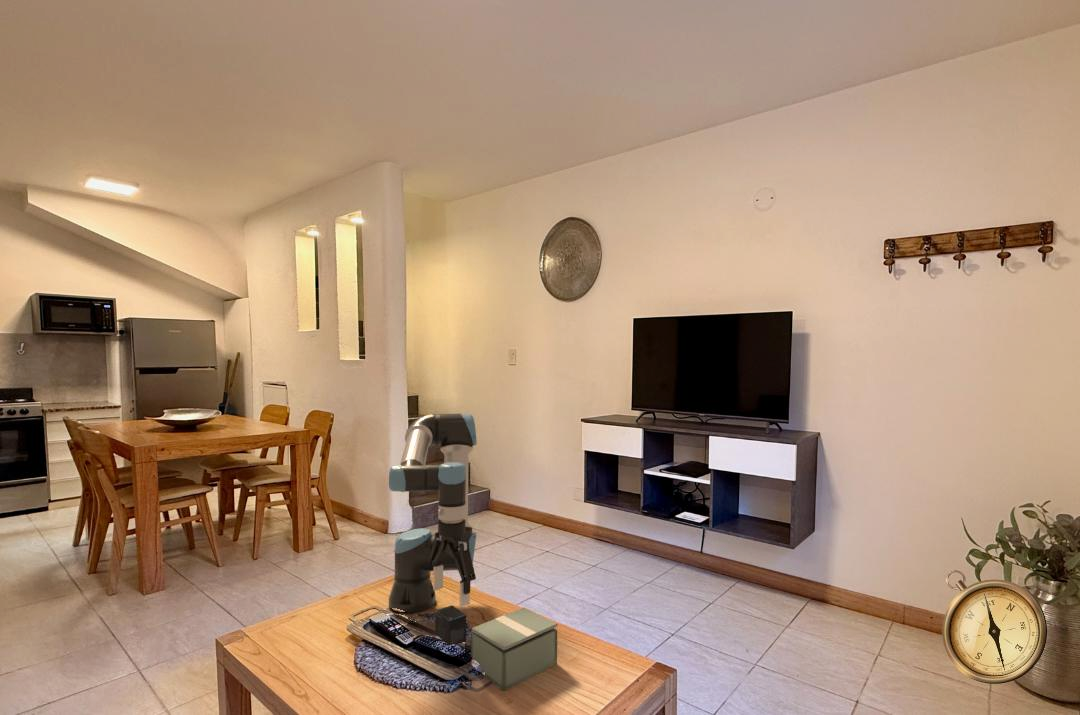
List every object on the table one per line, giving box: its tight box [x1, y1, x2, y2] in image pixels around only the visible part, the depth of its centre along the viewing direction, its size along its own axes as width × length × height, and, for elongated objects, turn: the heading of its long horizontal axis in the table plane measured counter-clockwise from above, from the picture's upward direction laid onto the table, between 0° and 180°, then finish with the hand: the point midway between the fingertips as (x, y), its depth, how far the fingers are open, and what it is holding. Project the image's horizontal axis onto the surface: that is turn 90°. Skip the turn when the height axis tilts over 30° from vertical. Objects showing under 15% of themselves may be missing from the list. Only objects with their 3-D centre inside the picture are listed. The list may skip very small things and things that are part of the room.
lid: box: [471, 607, 558, 650], centre depth 139 cm, size 14×18×1 cm
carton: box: [470, 628, 558, 692], centre depth 139 cm, size 14×18×9 cm
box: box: [434, 604, 467, 645], centre depth 146 cm, size 8×6×11 cm
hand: (450, 596), depth 145 cm, fingers open, 13 cm apart
